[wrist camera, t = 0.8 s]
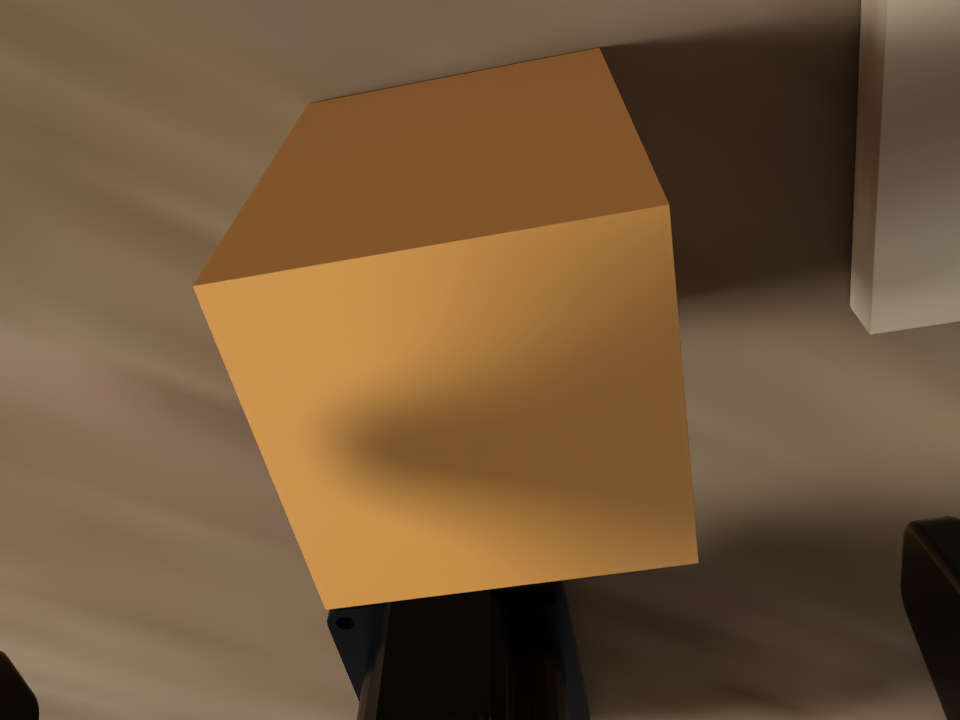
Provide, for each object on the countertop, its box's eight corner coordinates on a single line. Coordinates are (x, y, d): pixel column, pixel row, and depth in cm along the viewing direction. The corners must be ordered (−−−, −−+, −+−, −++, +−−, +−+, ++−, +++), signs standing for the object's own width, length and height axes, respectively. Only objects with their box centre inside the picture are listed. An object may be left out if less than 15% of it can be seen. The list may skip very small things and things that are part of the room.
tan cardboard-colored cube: (629, 308, 19) (697, 562, 13) (381, 348, 20) (325, 609, 13) (599, 47, 16) (669, 205, 10) (308, 104, 17) (192, 285, 10)
